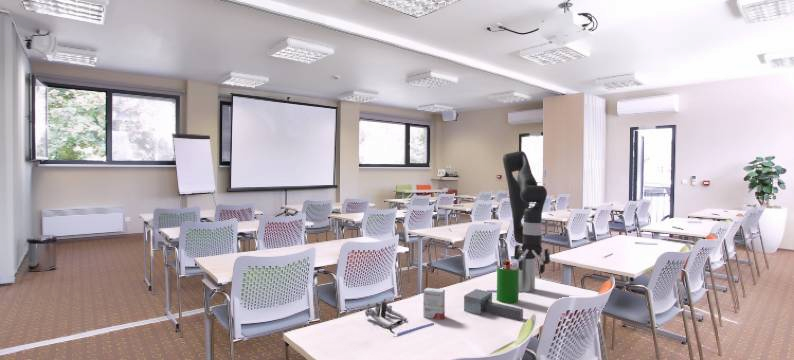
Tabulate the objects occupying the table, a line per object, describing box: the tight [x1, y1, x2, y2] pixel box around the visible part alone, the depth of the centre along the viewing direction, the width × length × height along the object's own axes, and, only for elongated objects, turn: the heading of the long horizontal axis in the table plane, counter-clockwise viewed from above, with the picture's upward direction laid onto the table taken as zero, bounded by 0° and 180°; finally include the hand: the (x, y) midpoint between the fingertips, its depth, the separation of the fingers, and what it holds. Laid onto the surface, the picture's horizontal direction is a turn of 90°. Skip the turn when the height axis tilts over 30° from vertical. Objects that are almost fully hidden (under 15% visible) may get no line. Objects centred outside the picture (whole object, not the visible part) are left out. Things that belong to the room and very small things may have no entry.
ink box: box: [422, 287, 446, 321], centre depth 175 cm, size 9×5×12 cm, turn 71°
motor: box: [496, 259, 520, 304], centre depth 197 cm, size 10×9×20 cm
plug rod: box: [484, 301, 524, 322], centre depth 179 cm, size 4×20×4 cm, turn 53°
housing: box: [463, 288, 493, 316], centre depth 185 cm, size 12×8×7 cm, turn 143°
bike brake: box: [364, 297, 409, 334], centre depth 169 cm, size 14×7×20 cm
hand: (531, 271), depth 171 cm, fingers open, 8 cm apart
